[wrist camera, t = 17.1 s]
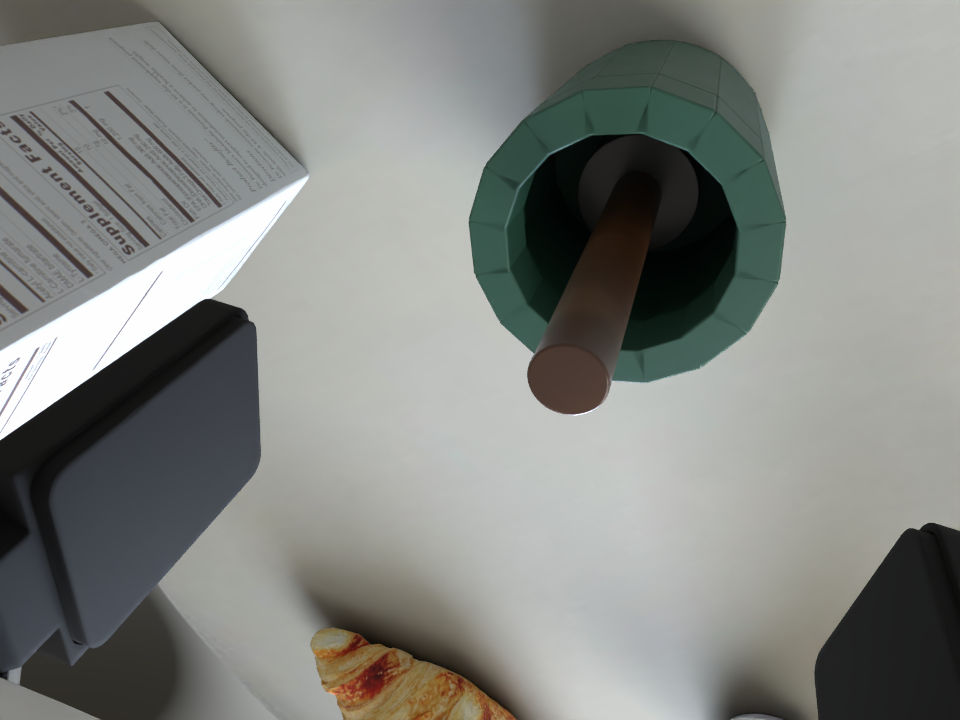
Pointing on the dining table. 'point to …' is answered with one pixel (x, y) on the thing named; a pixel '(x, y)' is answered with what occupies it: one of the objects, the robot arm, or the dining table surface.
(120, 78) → the supplement box
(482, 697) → the croissant
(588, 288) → the dowel with disc base
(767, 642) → the dining table surface
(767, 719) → the beverage can
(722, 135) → the jar
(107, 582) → the robot arm
